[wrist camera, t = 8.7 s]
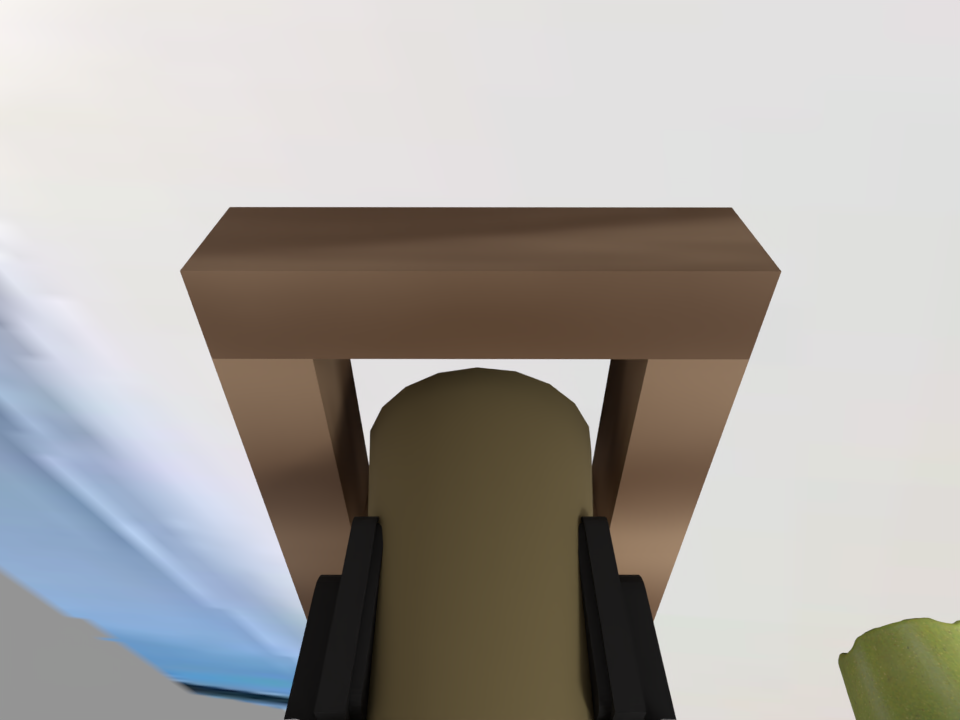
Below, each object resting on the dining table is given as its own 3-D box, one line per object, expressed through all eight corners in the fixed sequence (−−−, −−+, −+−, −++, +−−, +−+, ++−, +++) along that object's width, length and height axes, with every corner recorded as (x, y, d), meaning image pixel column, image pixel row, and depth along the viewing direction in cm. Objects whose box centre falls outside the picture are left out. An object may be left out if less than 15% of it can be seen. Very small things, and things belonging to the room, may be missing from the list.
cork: (383, 522, 18) (296, 1099, 9) (351, 369, 14) (157, 1100, 6) (582, 519, 18) (676, 1099, 9) (602, 364, 14) (791, 1101, 6)
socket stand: (208, 206, 14) (-516, 1065, 4) (752, 207, 14) (1477, 1070, 4) (324, 586, 25) (212, 1088, 14) (636, 586, 25) (747, 1089, 14)
